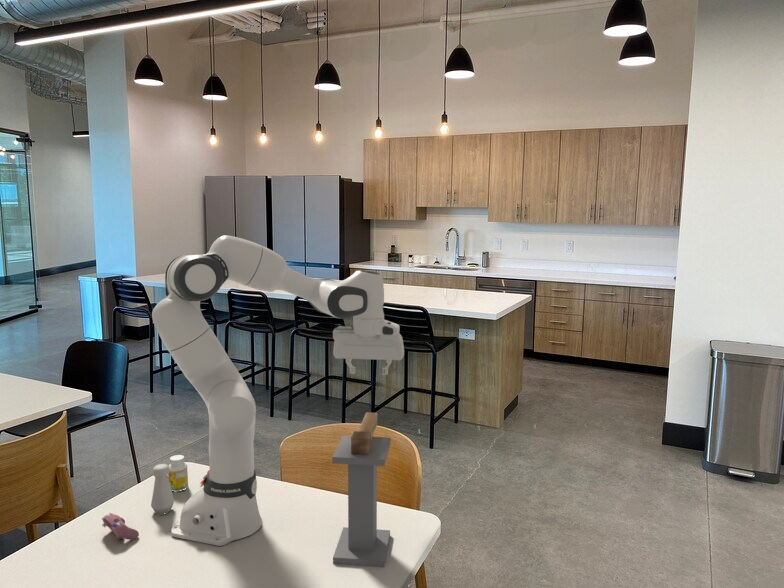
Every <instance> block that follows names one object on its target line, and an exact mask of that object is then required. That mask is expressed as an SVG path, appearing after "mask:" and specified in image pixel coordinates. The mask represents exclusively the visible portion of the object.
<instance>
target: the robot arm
mask: <svg viewBox="0 0 784 588" xmlns="http://www.w3.org/2000/svg"><path fill="white" fill-rule="evenodd" d="M287 264H288V263H287V262H286V260H285V258H284V257H283V256H281V255H280V254H278V253H277V252H275V251H274V250H272V249H270V248H268V247H266V246H264V245H261V244H259V243H256V242H254V241H251V240H248V239H245V238H242V237H237V236H234V235H233V236H232V235H226V234H225V235H221V236H219V237H218V238H217V239H215V240H214V241H213V243H212V244H211V246H210V248H209V251H208V252H206V254H205V253H204V254H203V253H202V254H194V253H187V254H184V255H180V256H177V257H175V258H174V259H173V260H172V261H170V262H169V264H168V266H167V267H166V271H165V276H164V280H165V281H164V282H165V298H163V299H161V300H159V302H157V303H156V305H155V306H154V308H153V309H152V312H151V318H152V322H153V324H154V327H155V329H156V331H157V333H158V335H159V337H160V339H161V341H162V343H163V345H164V346H165V348H166V349H167V351H168V352H169V354H170V356H171V357H172V359H173V361H175V363H176V364H177V366H178V367H179V369H180V371H181V372H182V374H183V375H184V377H185V379H187V380H188V381H189V383H190V384H191V385H192V386H193V387H194V389H195V390H196V391H197V392H198V394H199V395H200V397H201V398H202V400H203V401H204V403H205V406H206V408H207V412H208V432H209V433H208V440H209V441H208V461H209V462H208V466H209V469H208V470H207V472H206V474H205V475H204V476H203V478H202V480H201V481H200V483H199V484H200V486H199V487H200V488H201V489H199V490H197V492H195V493H194V494H193V495H191V496H190V497H189V498H188V500H186V502H185V503H184V505H183V507H182V509H181V513H180V515H179V516H178V517H177V519H176V520H175V521H174V522H173V524H172V527H171V529H170V531H171V532H170V533H171V537H173V538H178V539H183V540H188V541H192V542H193V541H194V542H197V543H203V544H208V545H213V546H219V547H221V546H225V545H227V544H229V543H231V542H232V541H233V542H234V541H236V540H240V539H243V538H246V537H248V536H251V535H253V534H254V533H256V532H257V531H258V530H259V529H260V528H261V526H262V524H263V519H262V517H261V514H260V511H259V506H258V502H257V495H256V494H257V488H258V486H257V485H258V484H257V473H256V469H255V457H254V455H255V454H254V442H255V431H256V430H255V429H256V411H257V410H256V409H257V408H256V400H255V399H254V396H253V395H252V393H251V391H250V389H249V387H248V385H247V383H246V381H245V380H244V379H243V377H242V375H241V374H240V372H239V370H238V368H236V366H235V365H234V363H233V361H232V360H231V358H230V357H229V355H228V353H227V352H226V350H225V349H224V346H223V345H222V344H221V342H220V341H219V339H218V337H217V336H216V334H215V333H214V331H213V329H212V328H211V326H210V325H209V323H208V322H207V321H206V319H205V317H204V315H203V313H202V310H201V302H202V301H207V300H208V299H210V298H212V297H214V296H215V294H216V293H217V292H218V291H219V290H220V289H221V287H222V286H223V284H225V282H226V281H227V280H228V281H233V282H236V283H238V284H240V285H243V286H245V287H248V288H251V289H254V290H259V291H263V292H269V293H271V292H274V291H277V290H278V291H284V292H286V293H289V294H291V295H294V296H297V297H299V298H301V299H304V300H306V301H307V302H308V303H309V304H310V305H311V306H312V307H313V308H314V310H316V311H317V312H319V313H322V314H326V315H329V316H331V317H333V318H336V319H347V318H348V319H349V318H352V325H351V326H350V325H345V326H344V325H338V326H337V327H335V328H334V329H333V331H332V338H333V340H334V342H333V349H332V350H333V352H332V353H333V354H332V355H333V356H334V358H335V359H344V360H345V364H346V365H347V367H348V368H349V374H353V375H355V374H356V366H354V365H353V364H352V360H378V361H379V360H383V361H385V363H386V364H387V365H386V366H385V367H382V368H381V371H382V373H381V374H382V375H383V376H384V375H385V376H388V374H389V368H390V366H391V364H392V361H401V360H402V359H403V358H404V355H405V347H404V340H403V336H402V335H401V333H400V328H401V327H400V325H399V324H397V323H395V322H393V321H389V320H387V319H385V312H384V303H385V288H384V280H383V277H382V275H381V274H380V273H379V272H377V271H373V270H372V271H371V270H365V269H358V270H355V272H353V273H352V275H350V276H349V277H346V279H343V280H341V281H336V280H334V279H330V278H321V279H319V278H318V279H315V278H312V277H310V276H308V275H306V274H303V273H301V272H299V271H296V270H293V269H292V268H291V267H289V265H287ZM382 375H381V376H382Z"/></svg>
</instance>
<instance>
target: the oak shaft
mask: <svg viewBox="0 0 784 588" xmlns="http://www.w3.org/2000/svg"><path fill="white" fill-rule="evenodd" d="M377 427H378V412H365V413H364V417H363V419H362V421H361V424H360V425H359V427H358V429H357V430H358V431H355V430H354V431H353V433H352V435H351V436H352V437H351V454H355V455H369V452H370V449H371V440H372V438H373V437H374V435H375V432H376V429H377Z"/></svg>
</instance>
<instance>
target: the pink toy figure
mask: <svg viewBox="0 0 784 588" xmlns="http://www.w3.org/2000/svg"><path fill="white" fill-rule="evenodd" d="M101 520H102V522H103V523H102V527H104V528H106V527H108V528H109V529H110V530H111V532H112V533H113V534H114V535H115V538H116V539H118V540H120V539H121V540H122V539H124V540H129V541H130V540H131V541H134V540H136V539H138V538H139V535H140V534H139V531H138V530H137V529H135V528H132V527H129V526H127V525H126V524H125V523H126V520H125V519H124V518H123V517H121V516H120V515H119V514H118V515H117V514H114V513H111V512H109V513H108V514H105V516H103V517H102V518H101Z"/></svg>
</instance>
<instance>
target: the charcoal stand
mask: <svg viewBox="0 0 784 588" xmlns="http://www.w3.org/2000/svg"><path fill="white" fill-rule="evenodd" d="M351 437H352V435H342V436H341V439H340V441H339V442H338V445H337V446H336V448H335V450H334V452H333V455H332V457H331V459H332V460H331V462H332V464H338V465H347V501H348V503H347V506H348V507H347V508H348V509H347V511H348V512H347V514H348V515H347V518H348V519H347V523H348V524H347V527H346V526H345V527H344V526H343V527H342V531H341V534H340V536H339V539H338V542H337V544H336V545H337V546H336V547H335V551H334V553H333V557H332V563H333V564H335V565H337V564H338V565H351V566H353V565H354V566H365V567H366V566H367V567H380V568H381V567H383V568H384V567H385V564H386V559H387V555H388V549H389V543H390V539H391V530H390V529H377V528H378V526H377V524H378V519H377V516H378V514H377V513H378V512H377V511H378V508H377V507H378V503H377V501H378V497H377V496H378V493H377V492H378V486H377V485H378V467H385V466H386V463H387V459H388V455H389V451H390V448H391V444H392V442H391V441H392V437H388V436H387V437H384V436H383V437H382V436H373V438H372V440H371V449H370V452H369V455H355V454H351Z"/></svg>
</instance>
